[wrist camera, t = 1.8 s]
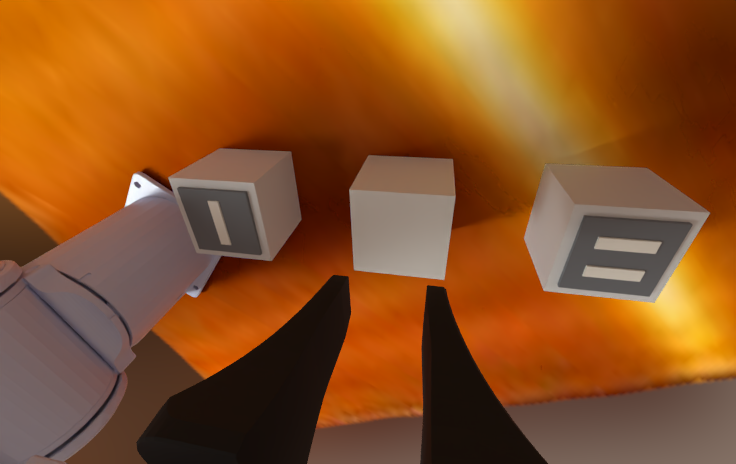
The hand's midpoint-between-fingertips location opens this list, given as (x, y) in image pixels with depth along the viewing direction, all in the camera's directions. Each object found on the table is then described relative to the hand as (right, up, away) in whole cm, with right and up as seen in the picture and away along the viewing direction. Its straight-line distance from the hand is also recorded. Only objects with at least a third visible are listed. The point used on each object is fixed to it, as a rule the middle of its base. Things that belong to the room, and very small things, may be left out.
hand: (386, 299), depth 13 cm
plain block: (+2, +5, +8) cm, 10 cm away
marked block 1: (-8, +6, +10) cm, 14 cm away
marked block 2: (+12, +4, +6) cm, 14 cm away
